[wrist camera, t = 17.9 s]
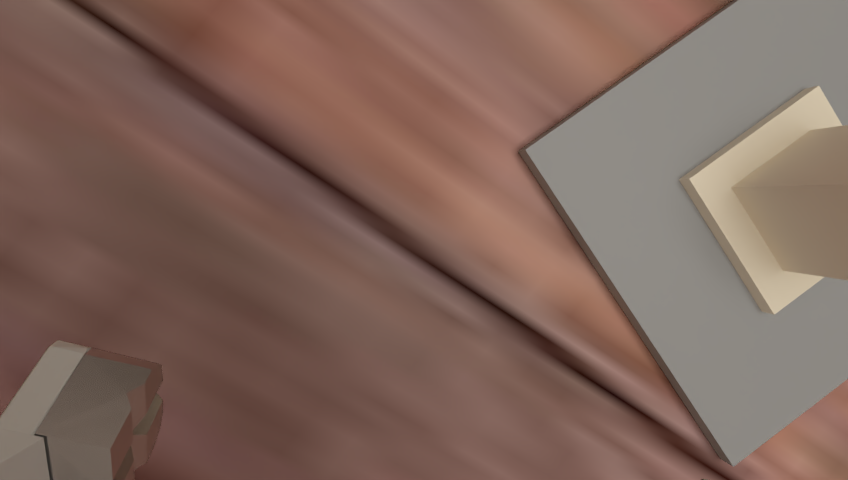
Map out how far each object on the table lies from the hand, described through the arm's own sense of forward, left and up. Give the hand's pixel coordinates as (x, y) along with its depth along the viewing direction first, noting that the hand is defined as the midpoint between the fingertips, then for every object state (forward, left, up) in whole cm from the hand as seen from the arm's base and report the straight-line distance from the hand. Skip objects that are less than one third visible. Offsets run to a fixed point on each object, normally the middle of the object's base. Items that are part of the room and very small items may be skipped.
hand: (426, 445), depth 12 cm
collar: (+16, +13, -22) cm, 31 cm away
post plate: (+16, +13, -24) cm, 31 cm away
